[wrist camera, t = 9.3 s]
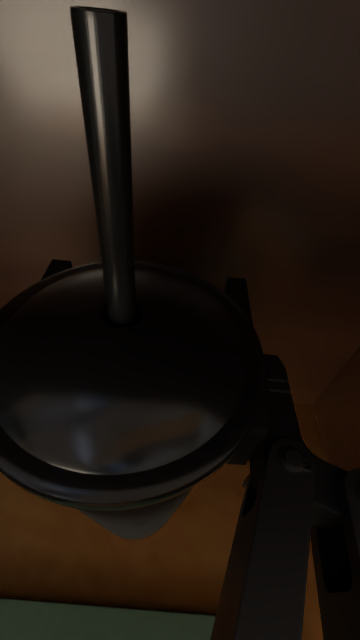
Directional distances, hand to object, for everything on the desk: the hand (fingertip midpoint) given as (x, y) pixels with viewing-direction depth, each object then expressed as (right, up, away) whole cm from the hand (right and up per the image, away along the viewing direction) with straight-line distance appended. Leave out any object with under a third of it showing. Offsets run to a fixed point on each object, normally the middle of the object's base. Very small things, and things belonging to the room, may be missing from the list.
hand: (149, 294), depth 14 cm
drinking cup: (-1, -11, +5) cm, 12 cm away
